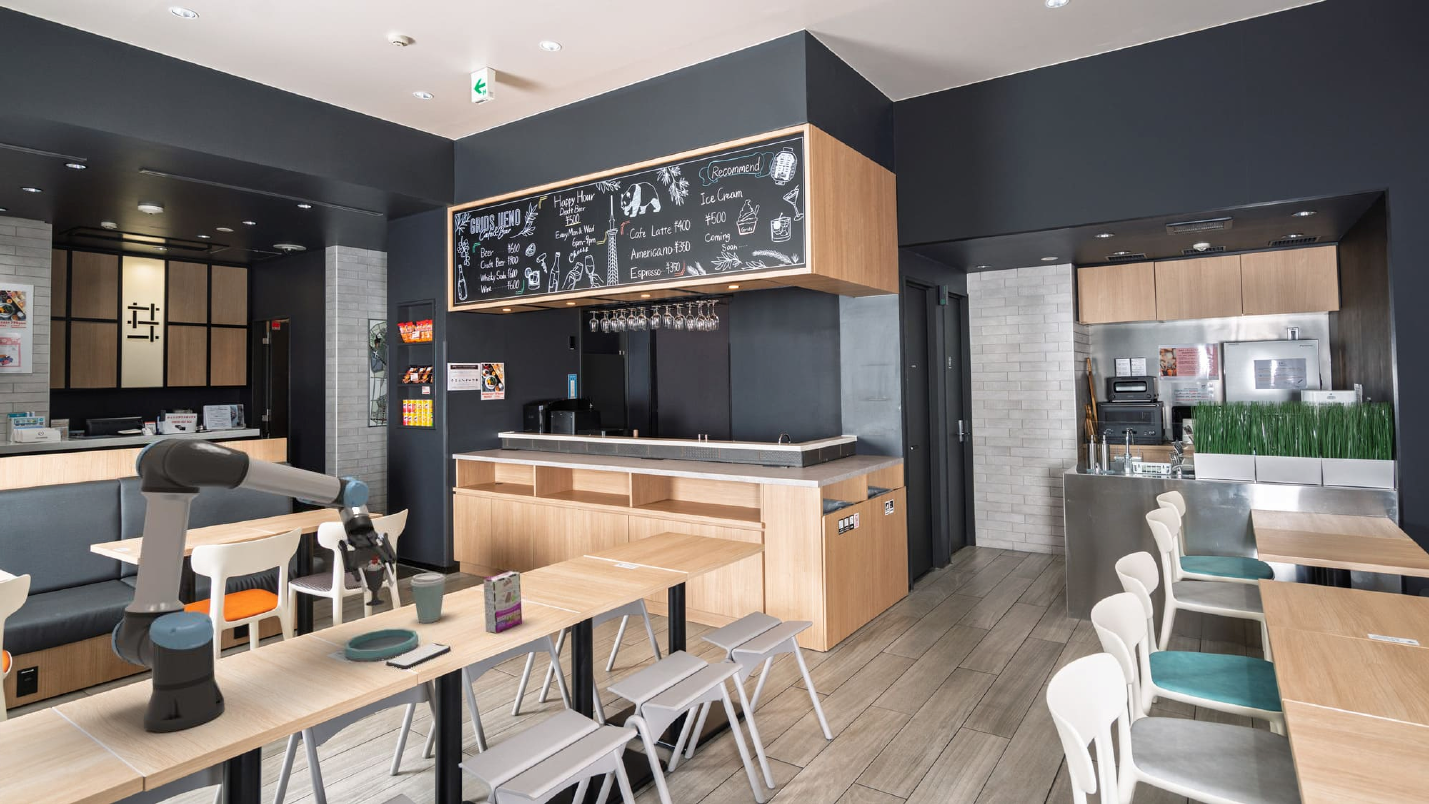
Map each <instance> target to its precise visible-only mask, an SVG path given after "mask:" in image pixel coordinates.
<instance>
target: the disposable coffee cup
mask: <svg viewBox="0 0 1429 804" xmlns="http://www.w3.org/2000/svg"><path fill="white" fill-rule="evenodd" d="M445 583H446V577H445V576H444V575H443V574H442V573H435V572H434V573H431V572H429V573H428V572H427V573H419V574H415V575H413V576H412V579H411V580H410V584H411V586H412V592H413V593H412V594H413V597H414V603H415V607H416V614H417V619H418V621H419V623H420V624H431V622H432V623H435V622H434V621H436V622H438V621H439V620H440V619H441V614H442V607H443V600H444V591H445V585H446V584H445ZM438 619H439V620H438Z"/></svg>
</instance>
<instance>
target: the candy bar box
mask: <svg viewBox="0 0 1429 804" xmlns="http://www.w3.org/2000/svg"><path fill="white" fill-rule="evenodd" d="M483 592H484V593H483V594H484V595H483V596H484V613H485V615H484V617H485V630H486V631H485V632H487V631H490V632H489V633H491V632H494V633H493V634H499V633H501V632H503V630H504V631H506V630H509V629H510V628H513V627H512V626H514V627H516V626H518V625H521V624H523V615H522V611H523V610H522V596H521V595H522V594H521V573H520V572H518V571H511V570H510V571H506V572H504V573H501V574H497V575H495V576H494V575H493V576H491V577H488V578H485V579H483ZM505 629H506V630H505ZM500 631H501V632H500ZM498 632H499V633H498Z"/></svg>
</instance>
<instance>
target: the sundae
mask: <svg viewBox="0 0 1429 804" xmlns="http://www.w3.org/2000/svg"><path fill="white" fill-rule="evenodd" d="M376 554H377V552H376V553H374V554H373V555H374V556H373V558H371V559H370V560H368V563H367V564H366V566H363V567H361V568H362V571H363V574H364V577H365V580H366V583H367V586H368V588H367V589H368V590H369V591H370V592H371V593H372V596H371V597H372V598H371V600H370V601H368V602H366V603H365V606H367V607H374V606H375V607H376V606H380V605H383V604H384V603H385V602H386V601H385V600H382V599H379V597H378V591H379V590H380V589H381V588H382V587H383V583H384V574H385V572H384V570H385V569H386V568H387V567H385V565H384V564H383V563H382V562H381V560H380V559H379V558H378V557H377V556H376Z"/></svg>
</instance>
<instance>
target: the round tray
mask: <svg viewBox="0 0 1429 804" xmlns="http://www.w3.org/2000/svg"><path fill="white" fill-rule="evenodd" d="M418 643H419V635H418V633H417V630H413V629H409V628H384V629H380V630H374V631H373V630H372V631H369V632H365V633H363V634H359V635H357V636H353V637H352V638H350V639H349V640H347V641H346V642H345V643H344V653H345V654H344V655H345V658H346V660H349V661H353V662H357V661H372V662H379V661H378V660H380V661H383V660H382V659H386V660H390V659H389V658H391V659H393V658H392V657H395V656H400V655H402V654H405V653H408V652H410V651H413V649H414V650H415V649H417V647H418ZM416 646H417V647H416ZM395 658H396V657H395Z"/></svg>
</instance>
